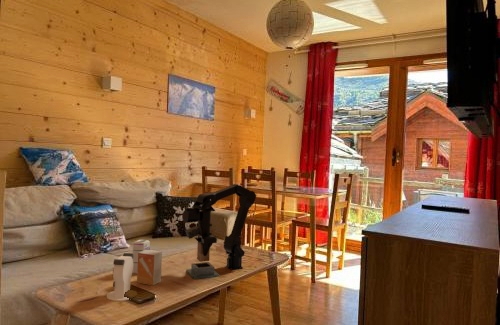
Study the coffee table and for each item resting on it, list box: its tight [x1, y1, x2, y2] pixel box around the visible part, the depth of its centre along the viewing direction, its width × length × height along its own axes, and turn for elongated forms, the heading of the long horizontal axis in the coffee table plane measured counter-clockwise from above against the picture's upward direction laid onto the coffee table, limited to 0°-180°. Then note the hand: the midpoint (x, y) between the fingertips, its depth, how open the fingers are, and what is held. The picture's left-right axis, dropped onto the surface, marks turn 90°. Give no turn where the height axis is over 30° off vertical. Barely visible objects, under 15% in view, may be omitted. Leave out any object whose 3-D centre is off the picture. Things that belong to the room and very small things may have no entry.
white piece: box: [106, 252, 134, 302], centre depth 141 cm, size 12×11×15 cm
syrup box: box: [132, 239, 151, 274], centre depth 169 cm, size 6×6×14 cm
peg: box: [196, 241, 211, 263], centre depth 170 cm, size 4×4×8 cm
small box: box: [136, 249, 163, 286], centre depth 156 cm, size 8×6×13 cm
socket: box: [186, 261, 220, 280], centre depth 170 cm, size 12×12×4 cm
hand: (203, 254), depth 170 cm, fingers closed on peg, 4 cm apart
